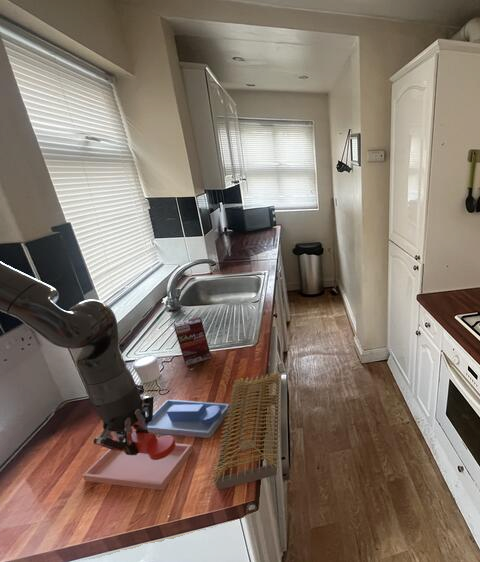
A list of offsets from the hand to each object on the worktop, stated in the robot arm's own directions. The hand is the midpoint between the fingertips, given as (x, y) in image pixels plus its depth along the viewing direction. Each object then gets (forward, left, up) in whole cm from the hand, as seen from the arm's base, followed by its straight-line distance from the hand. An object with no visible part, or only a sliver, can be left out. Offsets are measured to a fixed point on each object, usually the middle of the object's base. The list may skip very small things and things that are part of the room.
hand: (139, 447), depth 72 cm
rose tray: (-2, 0, -6) cm, 6 cm away
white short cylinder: (-26, +30, -6) cm, 40 cm away
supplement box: (-16, +41, -6) cm, 44 cm away
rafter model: (+20, +14, -6) cm, 26 cm away
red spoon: (+1, 0, 0) cm, 2 cm away
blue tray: (0, +14, -6) cm, 15 cm away
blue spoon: (+3, +14, -5) cm, 15 cm away
